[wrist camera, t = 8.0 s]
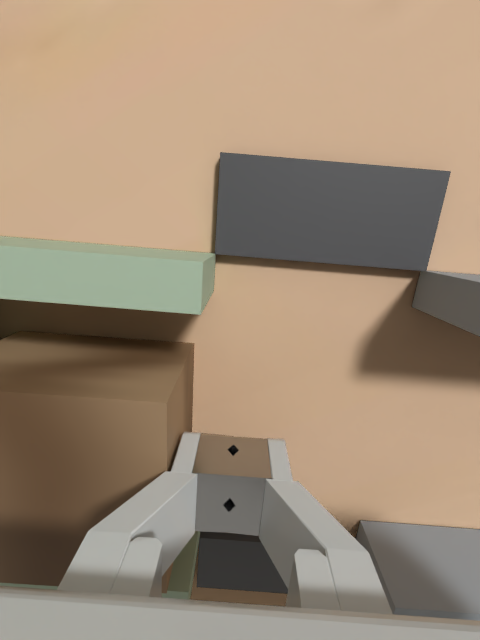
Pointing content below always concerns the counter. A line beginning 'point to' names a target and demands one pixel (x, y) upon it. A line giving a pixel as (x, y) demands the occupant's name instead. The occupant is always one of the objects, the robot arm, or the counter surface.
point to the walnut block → (81, 439)
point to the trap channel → (299, 245)
